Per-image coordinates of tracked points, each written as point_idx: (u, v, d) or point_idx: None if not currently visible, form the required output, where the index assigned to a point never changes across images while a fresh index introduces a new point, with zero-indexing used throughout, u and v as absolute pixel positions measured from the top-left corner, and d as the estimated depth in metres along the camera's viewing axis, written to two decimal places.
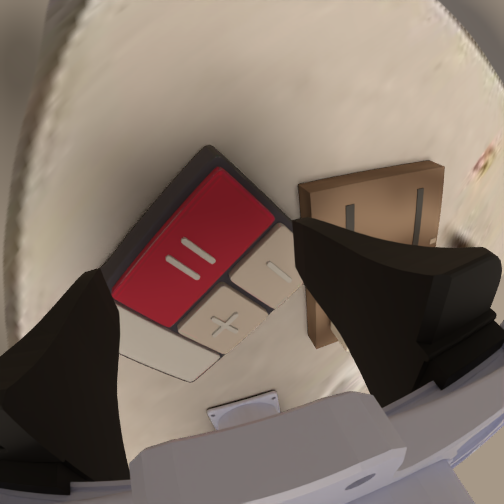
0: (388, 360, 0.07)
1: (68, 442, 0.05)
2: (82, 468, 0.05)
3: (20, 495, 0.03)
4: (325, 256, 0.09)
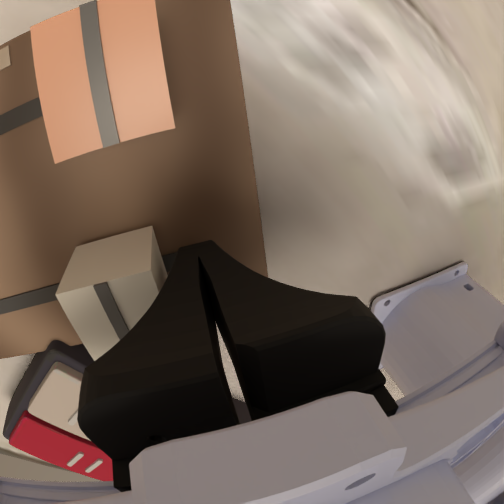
0: (250, 412, 0.06)
1: (234, 415, 0.05)
2: None
3: None
4: (209, 287, 0.09)
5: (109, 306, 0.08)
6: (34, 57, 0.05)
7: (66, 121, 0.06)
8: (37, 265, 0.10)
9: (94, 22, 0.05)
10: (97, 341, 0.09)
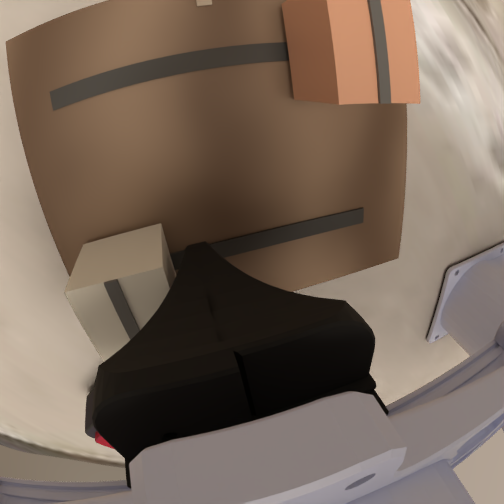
0: None
1: None
2: None
3: None
4: None
5: (119, 304, 0.08)
6: (326, 6, 0.06)
7: (354, 72, 0.07)
8: (206, 219, 0.11)
9: (379, 4, 0.06)
10: (106, 340, 0.09)
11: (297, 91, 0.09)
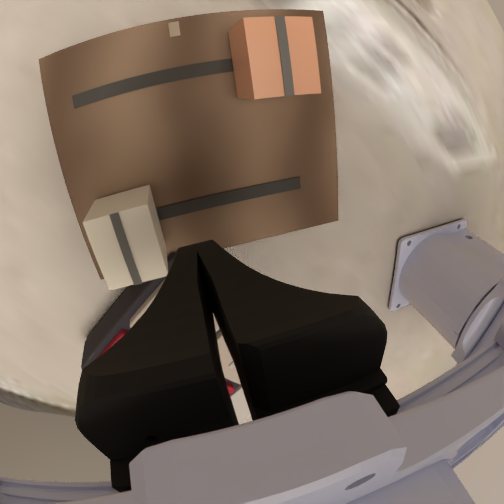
0: (252, 411, 0.06)
1: (232, 416, 0.05)
2: None
3: None
4: (210, 287, 0.09)
5: (118, 230, 0.12)
6: (245, 36, 0.10)
7: (265, 77, 0.11)
8: (178, 183, 0.16)
9: (284, 28, 0.10)
10: (107, 259, 0.13)
11: (238, 92, 0.14)
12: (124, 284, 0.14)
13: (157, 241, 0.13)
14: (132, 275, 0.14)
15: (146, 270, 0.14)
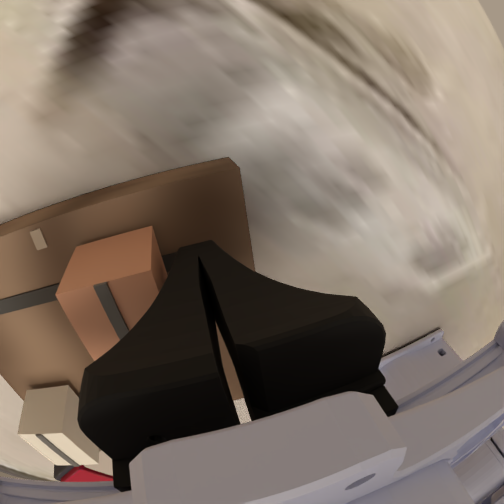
0: (251, 411, 0.06)
1: (234, 415, 0.05)
2: None
3: None
4: (209, 287, 0.09)
5: (47, 443, 0.10)
6: (67, 316, 0.08)
7: None
8: None
9: (111, 302, 0.08)
10: (47, 453, 0.11)
11: None
12: (66, 464, 0.12)
13: (81, 449, 0.11)
14: (69, 461, 0.12)
15: (79, 460, 0.12)
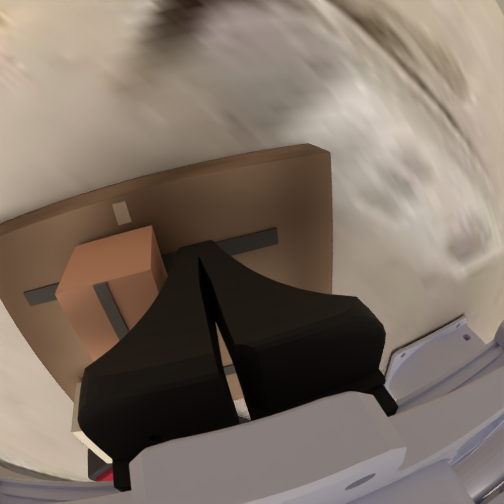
0: (250, 412, 0.06)
1: (235, 415, 0.05)
2: None
3: None
4: (209, 287, 0.09)
5: None
6: (67, 316, 0.08)
7: None
8: None
9: (110, 301, 0.08)
10: (101, 450, 0.12)
11: None
12: None
13: None
14: None
15: None
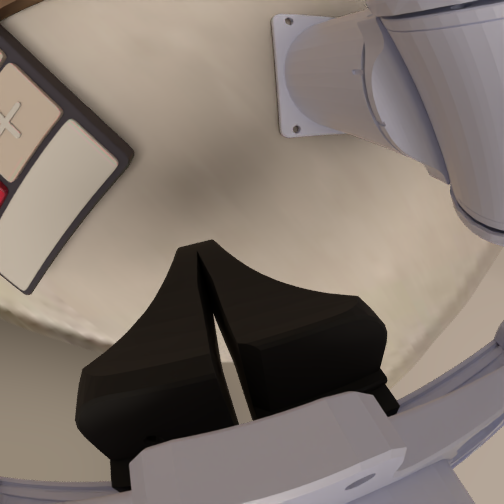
0: (252, 411, 0.06)
1: (233, 416, 0.05)
2: None
3: None
4: (210, 287, 0.09)
5: None
6: None
7: None
8: None
9: None
10: None
11: None
12: None
13: None
14: None
15: None
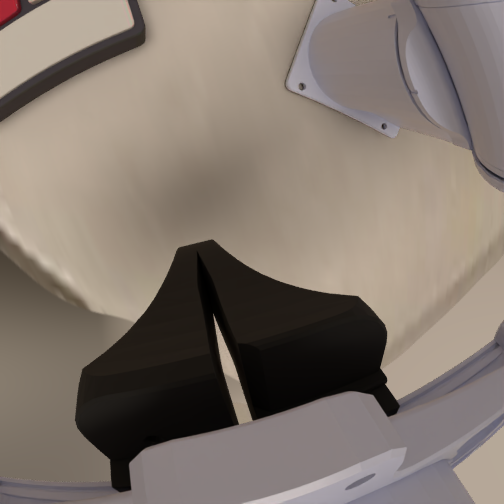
0: (252, 411, 0.06)
1: (233, 416, 0.05)
2: None
3: None
4: (210, 287, 0.09)
5: None
6: None
7: None
8: None
9: None
10: None
11: None
12: None
13: None
14: None
15: None
